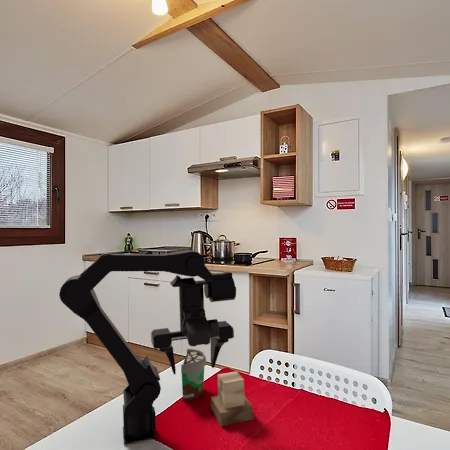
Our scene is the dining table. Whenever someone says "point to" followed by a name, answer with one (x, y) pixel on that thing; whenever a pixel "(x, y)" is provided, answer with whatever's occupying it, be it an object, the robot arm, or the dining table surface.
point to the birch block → (230, 389)
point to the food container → (193, 374)
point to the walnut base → (231, 412)
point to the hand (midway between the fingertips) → (193, 370)
